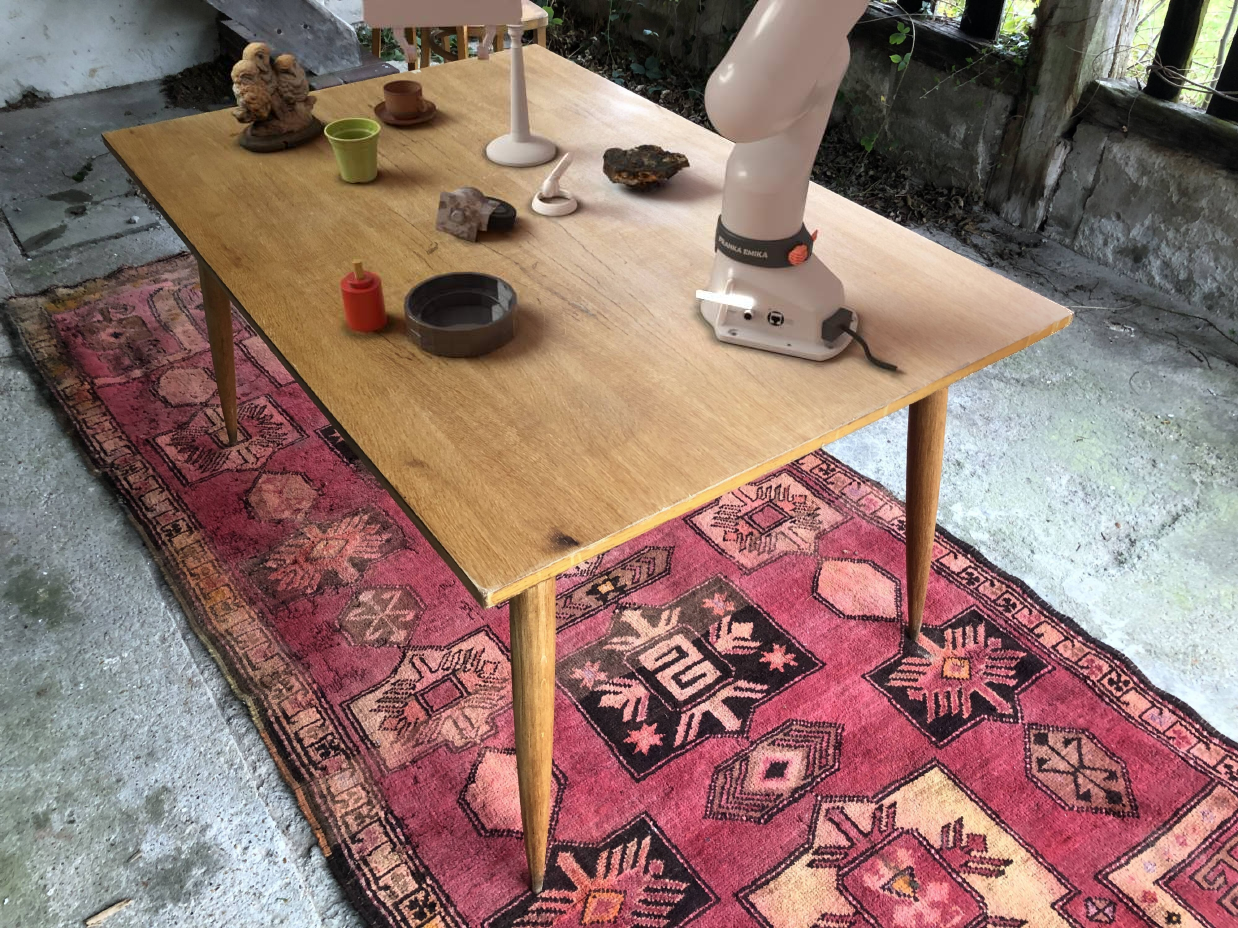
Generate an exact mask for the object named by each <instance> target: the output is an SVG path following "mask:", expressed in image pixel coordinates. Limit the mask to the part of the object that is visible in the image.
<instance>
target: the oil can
mask: <svg viewBox="0 0 1238 928" xmlns="http://www.w3.org/2000/svg"><path fill="white" fill-rule="evenodd" d="M351 262H352V267H353V271H352V272H350V273H348V274H347V275H346V276H344V277H343V278H342V279H341V280H340V282H339V286H340V291H341V296H342V302H343V306H344V312H345V313H344V314H345V318H346V323H347V327H348V328H349V329H351V330H352V331H355V332H359V333H368V332H374V331H377V330H379V329H381V328H383V327H384V326H385V325H386V324H387V322H388V317H387V310H386V303H385V297H384V291H383V284H382V278H381V277H380V276H379V275H377V274H376V273H373V272H371V271H369V270H364V267H363V260H362V259H361V258H355V259H353V260H352V261H351Z"/></svg>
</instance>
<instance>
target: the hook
mask: <svg viewBox="0 0 1238 928" xmlns="http://www.w3.org/2000/svg"><path fill="white" fill-rule="evenodd" d="M574 160H575V159H574V156H573V154H572V153H571V152H566V153H565V154H564V156H563V157H562V158H561V160H560V161H559V162H558V163H557V165H556V166H555V167H554V169H553V170H552V171H551V172H550V174H549V175H548V177H546V179H545V180H544V181H543V183H542V185H540V188H539V191H538V192H537V193H536V194H535V196H534V197H533V199H532V203H531V208H532V209H533V211H535V212H536V213H538V214H540V215H543V216H548V217H549V216H550V217H558V216H559V217H560V216H565V215H568V214H570V213H573V212H574V211H575V210H577V208H578V204H577V200H576V198H575V196H574V194H573V193H572V192H570V191H569V190H567V189H564V188H563V189H562V187H561V185H560V182H559V180H560V179H561V177H562V176H563V175H564V174H565V173H566V171H567V170H568V169H569V167H570V166H571V165H572V163H573V161H574ZM552 197H560V198H565V199H568V201H566V202H563V203H557V204H556V203H553V204H551V203H546V202H543V201H541V200H540V199H543V198H549V199H550V198H552Z"/></svg>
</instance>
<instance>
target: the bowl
mask: <svg viewBox="0 0 1238 928" xmlns="http://www.w3.org/2000/svg"><path fill="white" fill-rule="evenodd" d="M403 311H404V318H405V325H406V333H407V334H408V337H409V339H410V341H411V342H412V343H413V344H414V345H415V346H417V347H418V348H419V349H420V350H423V351H424V352H426V353H427V352H428V353H430V354H433V355H435V356H441V357H447V358H471V357H478V356H482V355H486V354H490V353H492V352H494V351H496V350H499V349H501V348H503V347H504V346H506V345H507V344H508V343H510V342H511V340H513V339H514V337H515V335H516V334H517V332H518V330H519V312H518V295H517V292H516V291H515V289H514V288H513V286H512V285H511V284H510V283H509V282H507V281H506V280H504V279H502V278H500V277H498V276H495V275H492V274H488V273H486V272H485V273H484V272H476V271H451V272H446V273H441V274H437V275H434V276H431V277H429V278H426V279H424V280H422V281H420V282H419V283H417V284H416V285H414V286H413V287H412V288H410V290H409V291H408V292H407V294H406V295H405V297H404V303H403Z"/></svg>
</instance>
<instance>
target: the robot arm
mask: <svg viewBox="0 0 1238 928" xmlns="http://www.w3.org/2000/svg"><path fill="white" fill-rule="evenodd" d="M871 1H872V0H758V1H757V2H756V4H755V5H754V7H753V8H752V11H751V12H750V14H749V15H748V16H747V19H746V20H745V22H744V24H743V26H742V27H741V29H740V31H739V33H738V34H737V36H736V38H735V39H734V42H733V43H732V45H731V46H730V47H729V49H728V51H727V53H726V54H725V56H724V57H723V58H722V60H721V61H720V63H718V65H717V67H716V68H715V69H714V70H713V72H712V73H711V75H710V76H709V78H708V80H707V82H706V86H705V89H704V107H705V112H706V115H707V118H708V120H709V121H710V123H711V125H712V126H713V128H714V129H715V130H716V131H717V132H718V133H719V134H720V135H721V136H722V137H724V138H725V139H727V140H728V141H731V142H734V143H735V144H734V146H733V147H732V148H733V149H732V150H731V152H730V154H729V156H728V159H727V162H726V165H725V172H724V173H725V174H724V183H723V193H722V204H721V212H720V214H719V215H718V217H717V222H716V227H715V232H714V233H715V234H714V253H715V258H714V262H713V267H712V271H711V274H710V279H709V282H708V285H707V288H706V291H703V290H699V289H697V290H696V296H695V297H696V298H699V299H702V300H701V302H700V311H701V314H702V316H703V318H704V319H705V320H706V321H707V322H708V323H709V324H710V325H711V326H712V328H713V330H714V334H715V337H716V338H717V340H719V341H721V342H724V343H728V344H733V345H739V346H743V347H749V348H754V349H758V350H762V351H763V350H764V351H766V352H767V351H769V352H771V353H778V354H782V355H787V356H793V357H797V358H802V359H807V360H811V361H818V362H823V361H825V360H826V361H827V360H829V359H832V358H833V357H836V356H837V355H839V354H840V353H842V352H843V351H844V350H845V349H846V348H847V347H848V346H849V345H850V344H851V342H852V341H853V339H854V340H855V341H856V342H858V343H859V345H860V346H861V347H862V349H863V352H864V354H865V356H866V358H867V360H869V362H871V363H872V364H874V365H875V366H878V367H880V368H883V369H886V370H891V371H894V372H896V371H897V369H898V366H897V365H895V364H892V363H888V362H885V361H881V360H879V359H877V358H876V357H875V356H873V354H872V353H871V350H870V348H869V345H868V343H867V342H866V341H865V340H864V338H863V337H861V336H860V335H859V334H858V333H857V330H858V323H859V318H858V315H857V312H856V311H855V310H854V309H853V308H850V307H848V306H846V293H845V287H844V284H843V282H842V280H841V279H840V278H839V276H837V275H836V274H835V273H834V272H833V271H832V270H831V269H830V268H828V266H827V265H826V264H825V263H824V262H823V261H822V260H821V259H820V258H819V257H818V256H817V255H816V254H815V253H814V252H813V249H814V242H815V241H816V240H817V238H818V233H819V230H818V229H816V230H815V231H814V232H813V233H812V234H811V233H810V232H809V229H807V227H806V224H805V222H804V216H805V210H806V205H807V199H808V192H809V186H810V180H811V176H812V173H813V168H814V164H815V162H816V161H815V160H816V157H817V154H818V151H819V148H820V145H821V142H822V140H823V136H824V135H825V131H826V128H827V126H828V122H829V118H830V116H831V113H832V109H833V105H834V102H835V99H836V96H837V93H838V91H839V88H840V86H841V84H842V81H843V80H844V77H845V75H846V73H847V71H848V69H849V65H850V61H851V49H850V47H851V46H850V43H849V40H848V37H847V36H848V35H849V33H850V32H851V31H852V29H853V28H854V27H855V25H856V23H858V21H859V20H860V19H861V17H862V16H863V15H864V14H865V12H866V10H867V8H868V7H869V5H870V3H871ZM360 3H361V17H362V21H363V22H364V23H365V25H366V26H367V27H368V28H369V29H392V35H393V38H394V39H395V41H396V42H397V44H398V45H399V46H400V48H401V49H402V50H403V54H404V62H405V63H407V64H410V63H417V62H418V59H417V53H416V51H417V49H416V45H415V44H409V43H408V41H407V40H406V38H405V29H406V28H439V27H473V26H474V27H475V26H476V27H477V26H479V27H480V26H483V27H484V33H485V37H484V39H483V41H482V42H476V54H477V61H490V52H489V51H490V50H489V48H490V46H491V44H492V43H493V41H494V38H495V37H496V34H497V28H496V27H497V26H506V25H515V24H518V23H519V21H520V20H521V21H522V19H523V16H524V15H523V4H522V0H361V2H360Z"/></svg>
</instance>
